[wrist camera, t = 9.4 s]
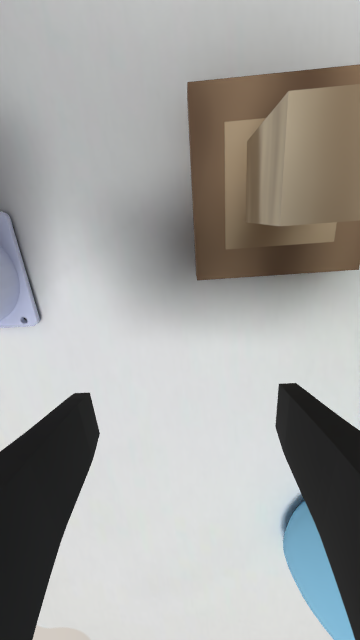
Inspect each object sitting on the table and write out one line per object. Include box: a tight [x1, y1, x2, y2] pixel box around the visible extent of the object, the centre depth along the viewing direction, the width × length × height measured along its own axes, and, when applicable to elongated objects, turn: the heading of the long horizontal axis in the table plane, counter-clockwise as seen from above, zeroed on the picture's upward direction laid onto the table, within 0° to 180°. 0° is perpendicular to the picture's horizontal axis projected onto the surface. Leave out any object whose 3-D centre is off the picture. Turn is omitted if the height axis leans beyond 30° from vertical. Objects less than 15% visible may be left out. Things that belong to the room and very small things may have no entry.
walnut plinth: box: [187, 65, 360, 280], centre depth 15 cm, size 10×10×2 cm
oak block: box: [246, 84, 360, 226], centre depth 12 cm, size 4×4×6 cm
